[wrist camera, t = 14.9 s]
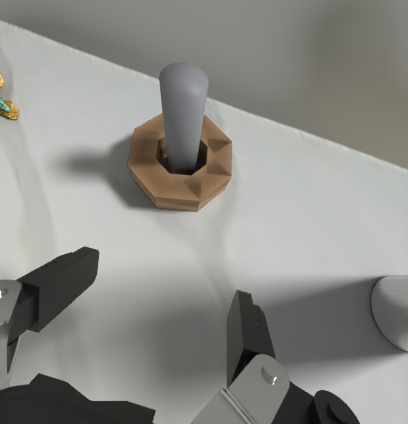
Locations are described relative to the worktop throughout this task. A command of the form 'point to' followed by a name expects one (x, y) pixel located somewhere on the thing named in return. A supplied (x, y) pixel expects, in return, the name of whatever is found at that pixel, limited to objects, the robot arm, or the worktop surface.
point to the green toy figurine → (7, 106)
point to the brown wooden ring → (174, 183)
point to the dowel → (183, 114)
